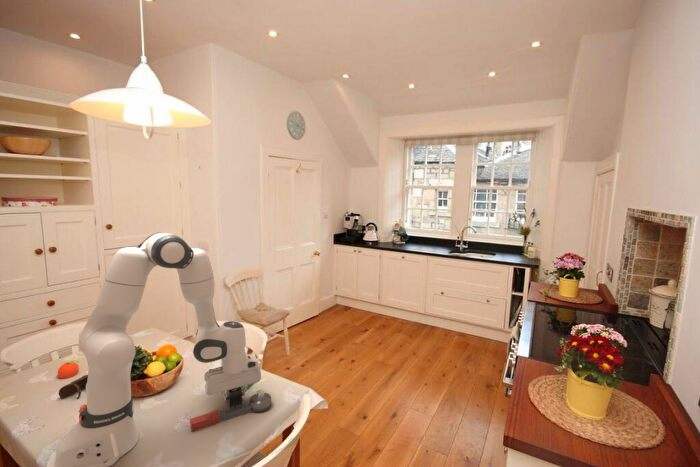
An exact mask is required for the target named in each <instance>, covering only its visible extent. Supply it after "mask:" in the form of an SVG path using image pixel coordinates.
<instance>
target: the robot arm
mask: <svg viewBox="0 0 700 467" xmlns="http://www.w3.org/2000/svg"><path fill="white" fill-rule="evenodd" d="M157 266H159V267H161V268H165V269H176V271H177V274H178V280H179V285H180V289H181V293H182V296H183V298H184V300H185V301H186V302H188V303H189V304H191V305H193V307H194V310H195V313H196V318H197V325H198V328H197V330H196V334H195V341H194V344H193V350H192V353H193V356H194V358H195V359H196V360H197V362H199V363H203V364H208V363H213V362H216V361H219V360H220V362H221V363H220V364H221V366H218V367H214V368H210V369H208V370H207V371H205V373H204V377H203V378H204V381H205V384H204V386H205V387H204V388H205V393H206V395H207V396H212V395H217V394H221V396H222V397H223V401H224V402H227V401H228V400H229V399H228V398H229V396H228V394H227V393H226V392H227V390H231V389H234V388H238V387H242V386H243V389H242V397H244V396H245V394H246V391H247V390H248V389H247V387H248V385H249V384H252V383H253V384H256V383H260V381H261V380H262V372H261V367H260V365H259V360H258V358H257V357H256V356H255V355H254V354H250V353H249V354H248V353H246V350H245V349H246V345H247V344H246V343H247V342H246V330H245V327H244V325H243V324H242V323H240V322H239V321H235V320H229V321H225V322H224V323H222V324H221V325H219V324H218V321H217V320H216V316H215V310H214V304H213V299H214V296H215V278H214V273H213V272H214V271H213V267H212V265H211V260H210V258H209V256H208V253H207V252H206V251H205V250H203V249H202V248H198V247H197V248H196V247H195V248H194V247H192V248H191V247H190V246H189V245H188V243H187V242H186V241H185V240H184V239H183V238H181V237H180V236H178V235H175V234H173V233H170V232H155V233H152V234H151V235H149V236H148V237H146V238H145V240H143V241H142V242H141V243H140V244H139V245H138V246H136V247H134V246H128V247H122V248H120V249H119V250H117V252H116V253H115V254H114V256H113V258H112V259H111V261H110V263H109V266H108V268H107V270H106V273H105V276H104V278H103V281H102V284H101V288H100V290H99V294H98V297H97V301H96V303H95V306H94V308H93V310H92V312H91V314H90V316H89V318H88V319H87V321H86V323H85V325H84V327H83V328H82V329H81V331H80V333H79V336H78V346H79V350H81V352H82V353H83V355H84V357H85V360H86V361H87V367H88V370H87V375H88V380H87V384H86V387H85V394H86V395H85V397H86V404H85V403H84V404H82V405H80V406H79V410H78V413H79V415H78V422H77V423H76V424H75V425H73V426H72V427H71V428H69V430H66V432H65V433H64V434H63V436H62V437H61V438H60V440H59V442H58V445H57V448H56V449H55V450H54V451H53V452H52V453H51V455H50V456H49V458H48V460H47V462H46V465H45V467H111V466H113V465H114V464H116V462H117V461H118V460H119V459H120V458H122V456H125V454H127V453H128V452H130V451H131V450H132V449H134V447H135V446H136V445H137V443H138V442H139V440H140V434H139V431H138V429H137V425H136V423H135V419H134V413H135V405H134V403H135V402H134V398H133V395H132V390H131V388H132V386H131V371H132V366H133V360H134V359H135V356H136V352H137V351H136V345H135V342H134V340H133V338H132V337H131V336H130V335H129V334H128V333H127V327H128V325H129V323H130V320H131V318H132V317H133V315H135V313H137V311H138V310H139V308H140V305H141V302H142V298H143V295H144V291H145V288H146V285H147V281H148V276H149V274H150V272H151V271H152V270H153V269H154V268H155V267H157ZM253 384H252V385H253ZM246 389H247V390H246Z"/></svg>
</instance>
